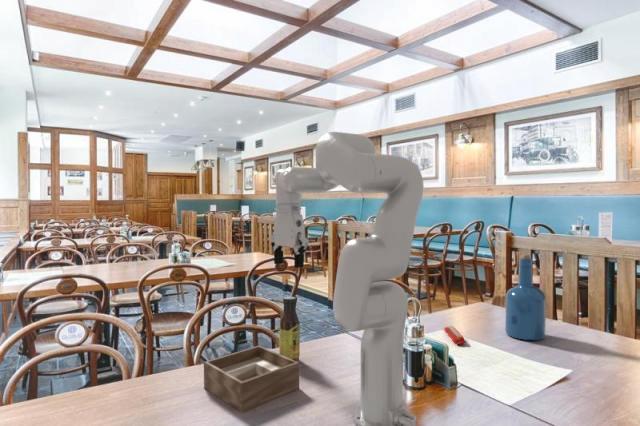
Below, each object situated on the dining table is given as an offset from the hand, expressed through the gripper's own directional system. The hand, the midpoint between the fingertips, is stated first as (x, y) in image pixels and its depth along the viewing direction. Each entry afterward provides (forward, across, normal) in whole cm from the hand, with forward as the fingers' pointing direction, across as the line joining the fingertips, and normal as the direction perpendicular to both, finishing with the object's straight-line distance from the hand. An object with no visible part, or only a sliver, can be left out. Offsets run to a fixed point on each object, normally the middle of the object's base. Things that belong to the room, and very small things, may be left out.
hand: (288, 265), depth 128 cm
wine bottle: (+30, -42, -77) cm, 93 cm away
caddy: (+30, -7, +19) cm, 36 cm away
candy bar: (+30, -26, -56) cm, 69 cm away
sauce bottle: (+30, 0, 0) cm, 30 cm away
